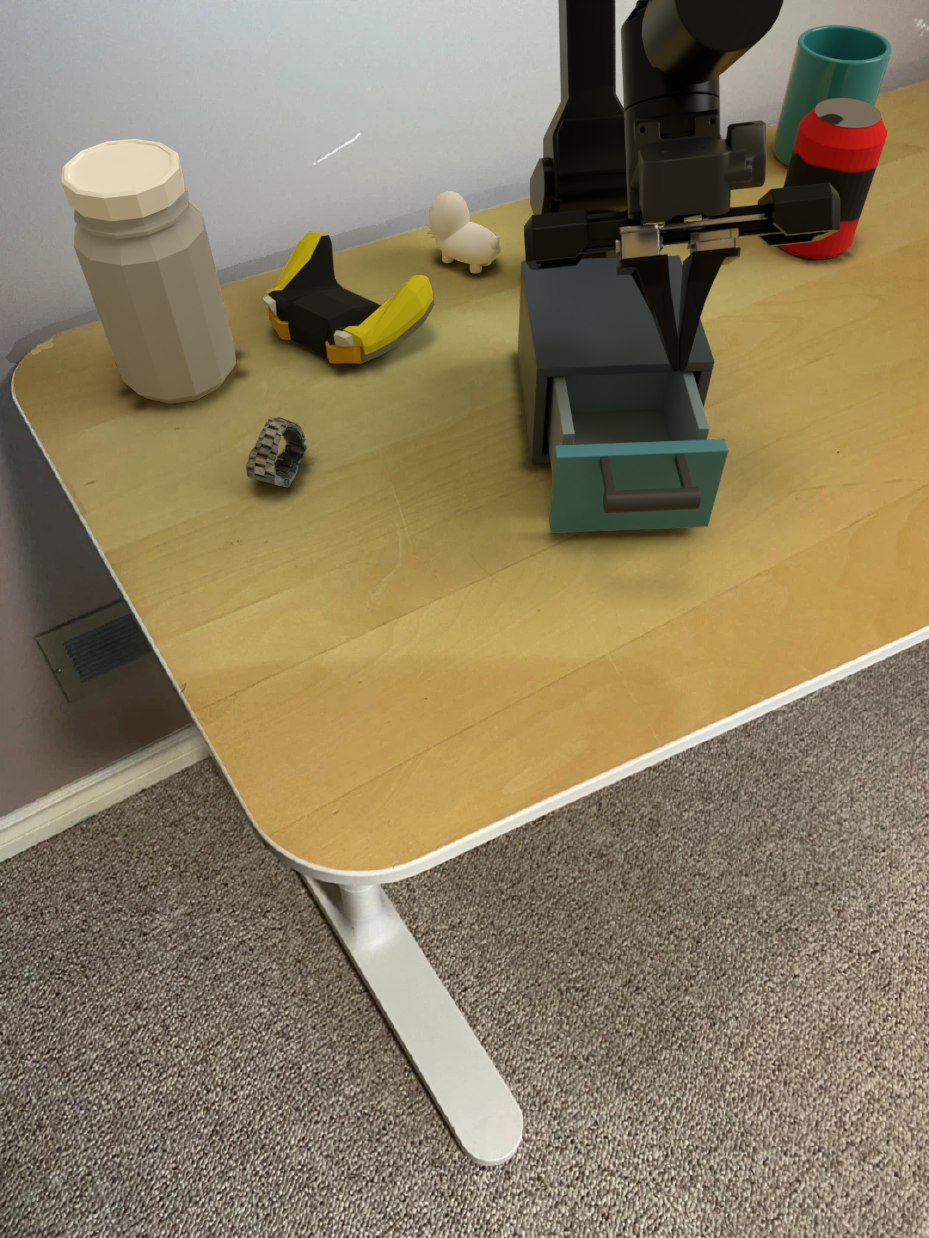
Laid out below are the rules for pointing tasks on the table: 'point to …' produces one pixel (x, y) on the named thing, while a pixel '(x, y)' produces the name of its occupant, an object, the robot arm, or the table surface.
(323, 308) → the gaming controller
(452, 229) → the toy creature
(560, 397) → the drawer
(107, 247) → the jar
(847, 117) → the soda can
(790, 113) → the cup
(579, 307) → the small filing cabinet
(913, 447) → the table surface
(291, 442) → the wristwatch
